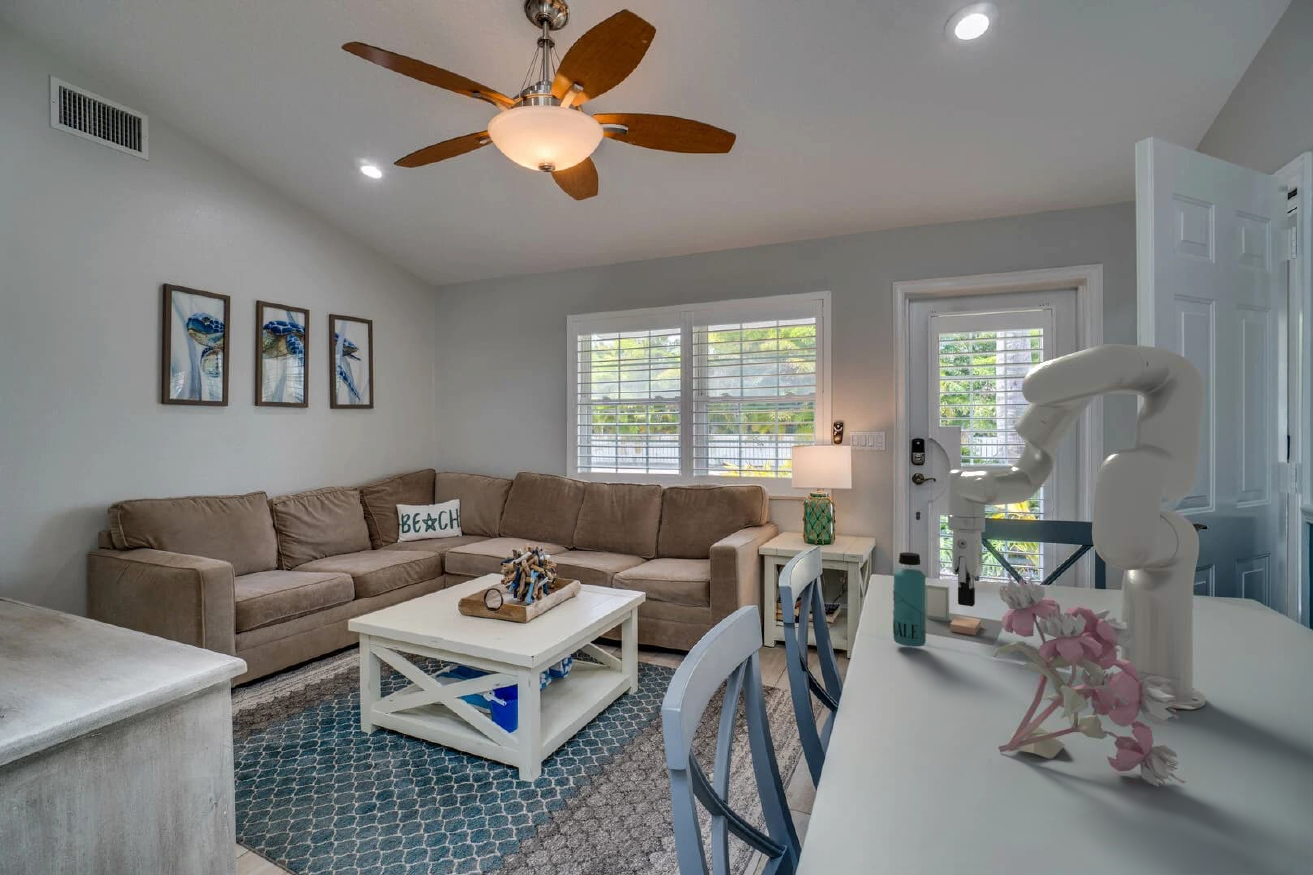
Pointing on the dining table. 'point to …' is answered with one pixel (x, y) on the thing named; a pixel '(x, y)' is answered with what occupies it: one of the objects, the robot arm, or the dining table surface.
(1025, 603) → the flower
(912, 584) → the beverage bottle
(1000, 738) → the dining table surface
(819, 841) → the dining table surface
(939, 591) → the tile
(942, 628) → the mat
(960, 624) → the tile
